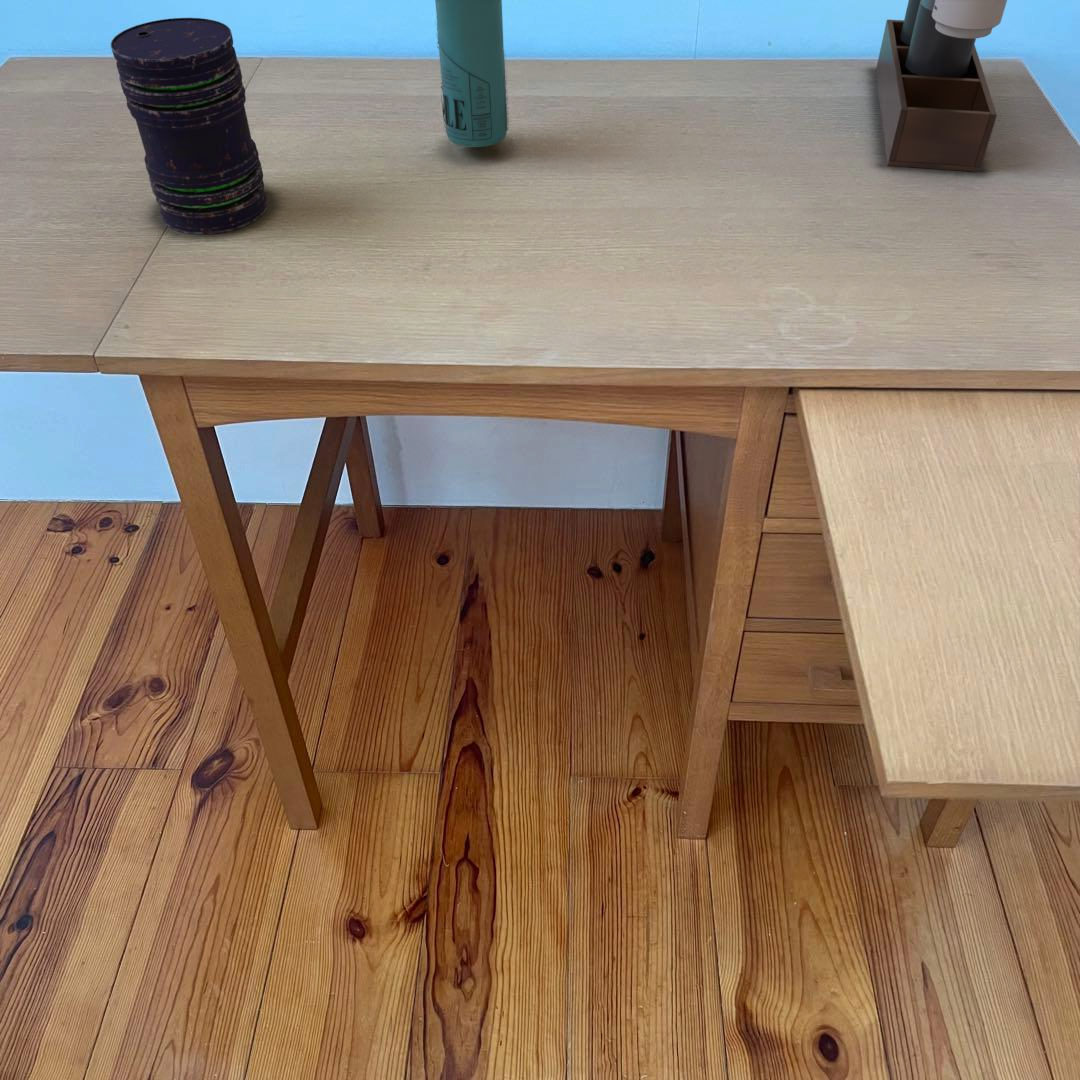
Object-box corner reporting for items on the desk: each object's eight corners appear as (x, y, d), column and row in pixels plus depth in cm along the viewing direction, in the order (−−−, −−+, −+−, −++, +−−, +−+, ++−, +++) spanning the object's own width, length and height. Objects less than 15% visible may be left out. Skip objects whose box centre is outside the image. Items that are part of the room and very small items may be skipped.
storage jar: (289, 194, 95) (256, 25, 84) (230, 243, 89) (185, 67, 78) (201, 177, 98) (158, 11, 87) (137, 223, 91) (82, 50, 81)
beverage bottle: (520, 141, 103) (514, -83, 88) (491, 168, 98) (480, -63, 84) (464, 130, 105) (449, -90, 90) (432, 156, 100) (412, -71, 86)
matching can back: (958, 83, 111) (1000, -71, 100) (925, 98, 108) (966, -59, 97) (911, 68, 114) (948, -83, 103) (879, 82, 111) (913, -72, 101)
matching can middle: (965, 113, 105) (1012, -48, 94) (931, 129, 102) (975, -34, 92) (917, 96, 108) (956, -61, 98) (882, 111, 106) (919, -49, 95)
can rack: (953, 75, 114) (967, 23, 110) (979, 172, 97) (997, 114, 93) (875, 70, 115) (886, 19, 111) (887, 165, 98) (901, 108, 94)
